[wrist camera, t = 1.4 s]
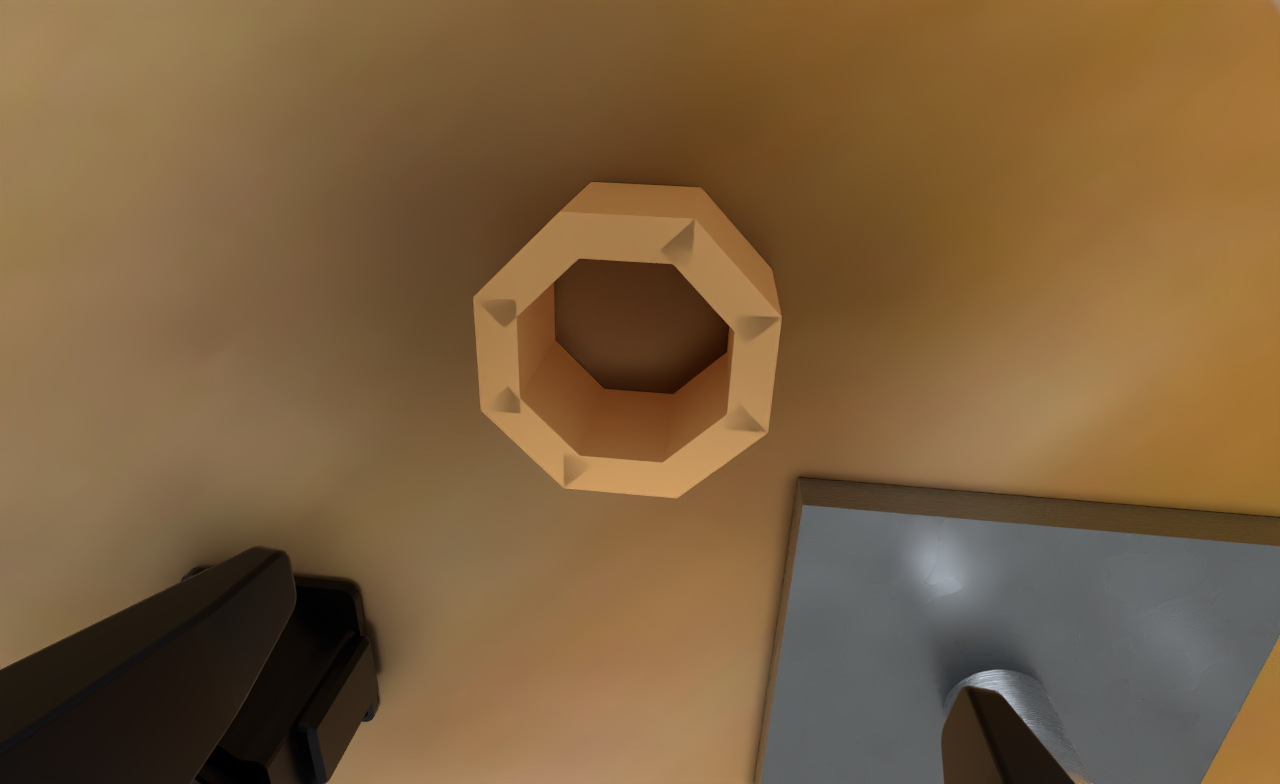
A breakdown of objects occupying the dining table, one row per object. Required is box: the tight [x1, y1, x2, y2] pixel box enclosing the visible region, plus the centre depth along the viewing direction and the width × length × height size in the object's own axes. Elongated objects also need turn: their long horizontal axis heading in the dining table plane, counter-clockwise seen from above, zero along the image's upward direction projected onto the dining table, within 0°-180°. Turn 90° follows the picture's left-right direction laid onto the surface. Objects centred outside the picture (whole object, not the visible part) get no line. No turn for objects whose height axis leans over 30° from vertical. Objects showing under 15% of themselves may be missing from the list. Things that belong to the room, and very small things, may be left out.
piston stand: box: [754, 478, 1280, 784], centre depth 21 cm, size 14×14×8 cm
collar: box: [473, 182, 782, 498], centre depth 19 cm, size 7×7×4 cm
